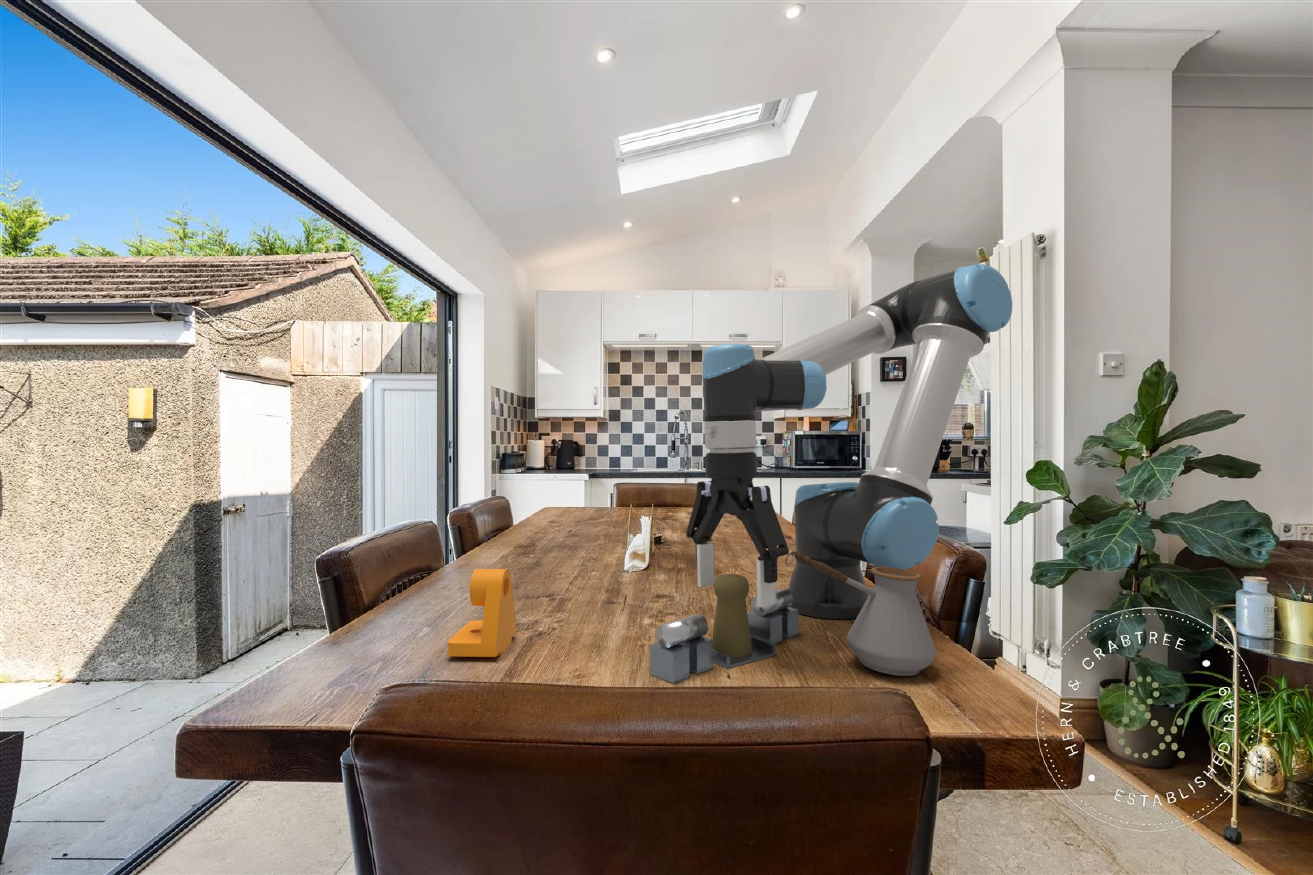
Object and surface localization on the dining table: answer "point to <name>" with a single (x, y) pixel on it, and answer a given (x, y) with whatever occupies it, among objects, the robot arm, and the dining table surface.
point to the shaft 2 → (774, 618)
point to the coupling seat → (759, 651)
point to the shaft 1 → (681, 649)
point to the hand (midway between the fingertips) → (734, 594)
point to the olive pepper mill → (731, 616)
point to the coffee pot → (887, 621)
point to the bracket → (487, 617)
